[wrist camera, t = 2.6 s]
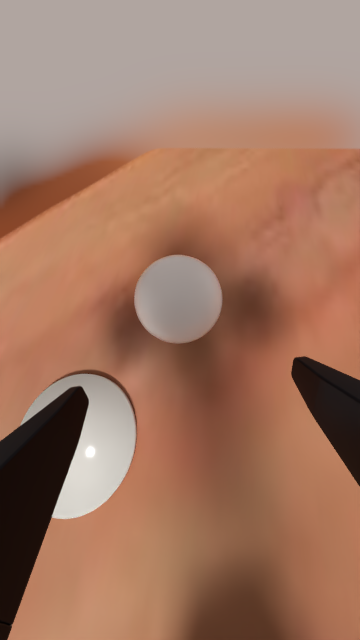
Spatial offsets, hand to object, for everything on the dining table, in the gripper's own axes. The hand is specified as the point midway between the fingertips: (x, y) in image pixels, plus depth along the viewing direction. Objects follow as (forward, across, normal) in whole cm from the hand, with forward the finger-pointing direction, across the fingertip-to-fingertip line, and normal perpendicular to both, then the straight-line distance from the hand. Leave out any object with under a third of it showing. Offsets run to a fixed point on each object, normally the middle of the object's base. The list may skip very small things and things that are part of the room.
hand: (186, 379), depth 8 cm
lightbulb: (+13, 0, +5) cm, 13 cm away
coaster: (+6, +12, +11) cm, 17 cm away
